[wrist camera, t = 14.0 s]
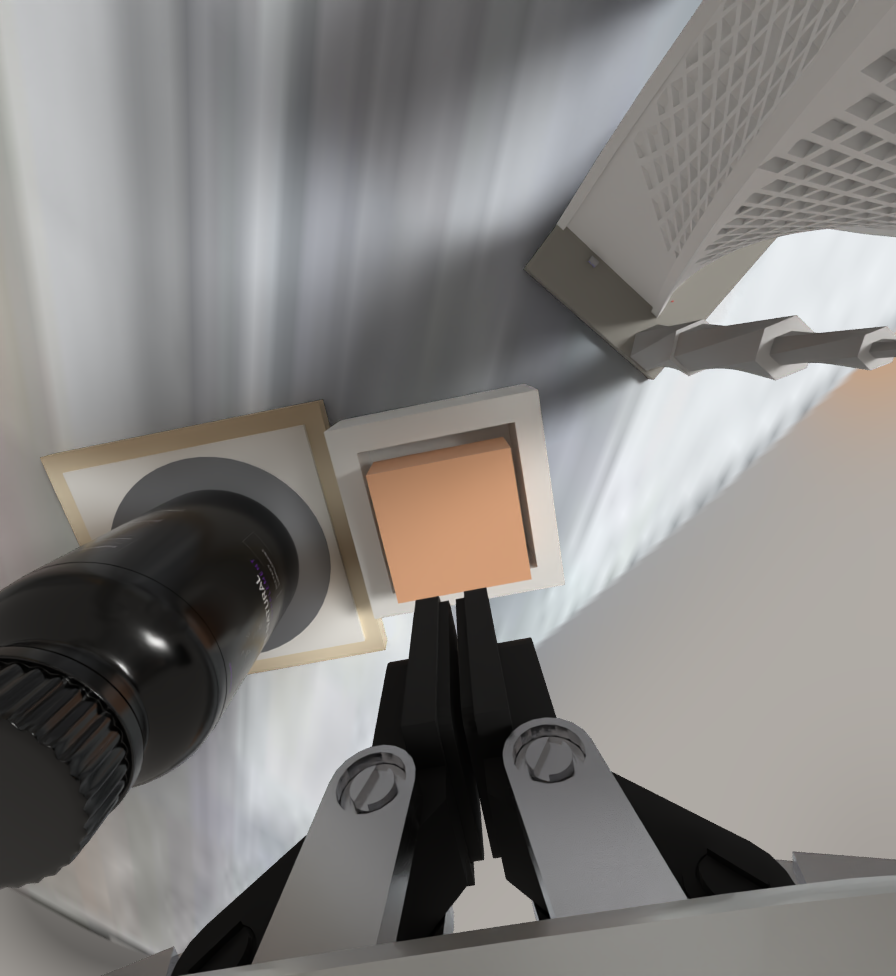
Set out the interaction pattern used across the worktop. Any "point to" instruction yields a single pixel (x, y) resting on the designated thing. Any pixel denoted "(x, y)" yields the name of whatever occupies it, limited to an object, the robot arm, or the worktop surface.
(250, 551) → the supplement bottle
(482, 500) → the button
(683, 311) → the skyscraper
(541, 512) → the button housing
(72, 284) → the worktop surface
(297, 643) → the cream square coaster
